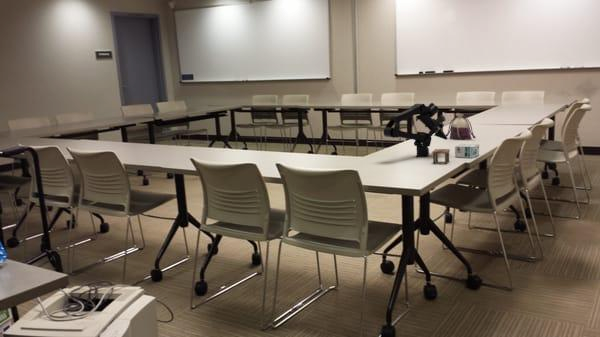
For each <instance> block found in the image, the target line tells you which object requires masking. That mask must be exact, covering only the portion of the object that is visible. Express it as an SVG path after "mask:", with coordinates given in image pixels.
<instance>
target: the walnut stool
mask: <svg viewBox="0 0 600 337" xmlns="http://www.w3.org/2000/svg"><path fill="white" fill-rule="evenodd" d="M431 153H432V156H433V157H432V163H433V165H436V164H437V162H438V161H439V160H438V159H439V158H438V157H439V156H438V154H440V155H444V164H445V165H448V163H449V162H450V148H446V149H445V148H435V149H434V150H433V151H432V152H431Z"/></svg>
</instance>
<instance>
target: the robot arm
mask: <svg viewBox="0 0 600 337" xmlns="http://www.w3.org/2000/svg"><path fill="white" fill-rule="evenodd" d="M439 111H440V109H439V107H438V106H437V105H436V104H434V103H433V102H431V103H429V104H428V105H427V106H426V104H424V103H414V104H412V105H411V106H410V108H408V109H407V110H404V111H402V112H400V113H398V114H395V115H392V116H391V117H390V120H388V123H386V125H385V127H384V129H383V135H384V137H387V138H394V139H396V138H403V139H407V140H414V142H413V145H414V147H416V156H415V157H416V158H426V157H428V156H430V148H429V147H430V146H431V142H432V136H434V137H438V138H439V139H443V140H446V141H447V140H448V139H449V138H448V136H446V134H445V132H444V126H445V124H444V123H443V122H445V121H446V116H445V115H442V114H440V115H438V118H436V119H435V118H432V117H434V116H435V115H436V114H437V113H438V112H439ZM413 116H415V122H417V121H418V120H419V121H420V122H421V123H422V124H423V125H424V127H425V128H427V129H428V130H429V131H428V132H424V131H416V133H413V132H409V131H408V132H407V131H403V130H401V126H400V125H401V122H402V121H405V120H406V119H409V118H411V117H413Z"/></svg>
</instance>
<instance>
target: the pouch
mask: <svg viewBox="0 0 600 337" xmlns="http://www.w3.org/2000/svg"><path fill="white" fill-rule="evenodd" d="M464 115H465V114H464V113H459V112H457V113H455V117H453V118H452V119H451V121H450V123H449V126H448V129H447V133H446V134H445V135H446V136H447V137H448V136H449V139H450V138H453V139H452V140H465V139H471V140H473V139H476V136H475V135H474V132H473V128H472V124H471V122H470V121H469V119H468V117H465V116H464Z"/></svg>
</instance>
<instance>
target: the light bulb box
mask: <svg viewBox="0 0 600 337" xmlns="http://www.w3.org/2000/svg"><path fill="white" fill-rule="evenodd" d="M479 155H480V144H479V143H477V144H476V143H460V144H458V145H455V146H454V158H466V159H467V158H468V159H470V158H471V159H474V158H476V157H478V156H479Z"/></svg>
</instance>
